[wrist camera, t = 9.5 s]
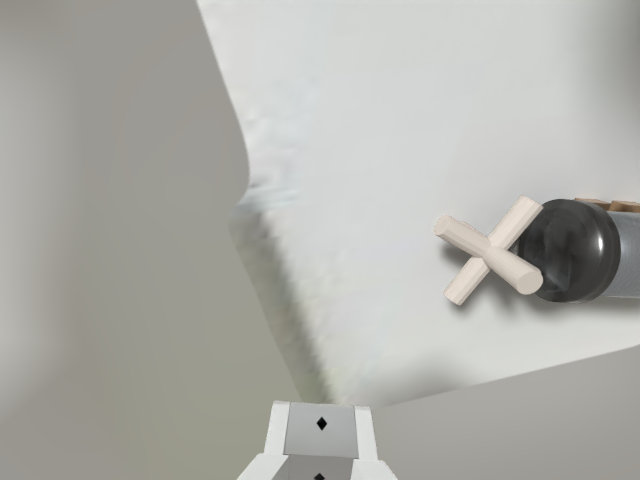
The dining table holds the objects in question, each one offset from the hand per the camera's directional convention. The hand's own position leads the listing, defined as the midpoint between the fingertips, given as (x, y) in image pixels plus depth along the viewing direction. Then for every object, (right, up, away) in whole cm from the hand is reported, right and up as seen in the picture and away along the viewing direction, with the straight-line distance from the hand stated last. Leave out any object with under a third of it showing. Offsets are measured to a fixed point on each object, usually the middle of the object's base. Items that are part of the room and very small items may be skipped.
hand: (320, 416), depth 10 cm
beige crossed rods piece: (+14, +7, +21) cm, 26 cm away
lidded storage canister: (+24, +6, +21) cm, 32 cm away
